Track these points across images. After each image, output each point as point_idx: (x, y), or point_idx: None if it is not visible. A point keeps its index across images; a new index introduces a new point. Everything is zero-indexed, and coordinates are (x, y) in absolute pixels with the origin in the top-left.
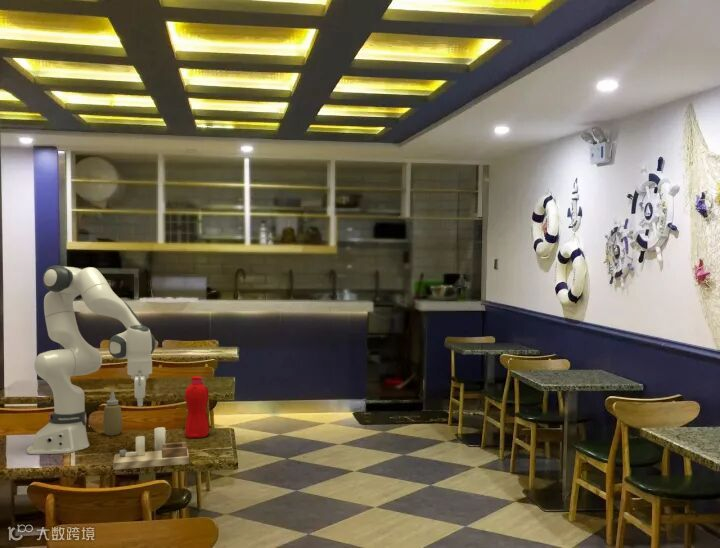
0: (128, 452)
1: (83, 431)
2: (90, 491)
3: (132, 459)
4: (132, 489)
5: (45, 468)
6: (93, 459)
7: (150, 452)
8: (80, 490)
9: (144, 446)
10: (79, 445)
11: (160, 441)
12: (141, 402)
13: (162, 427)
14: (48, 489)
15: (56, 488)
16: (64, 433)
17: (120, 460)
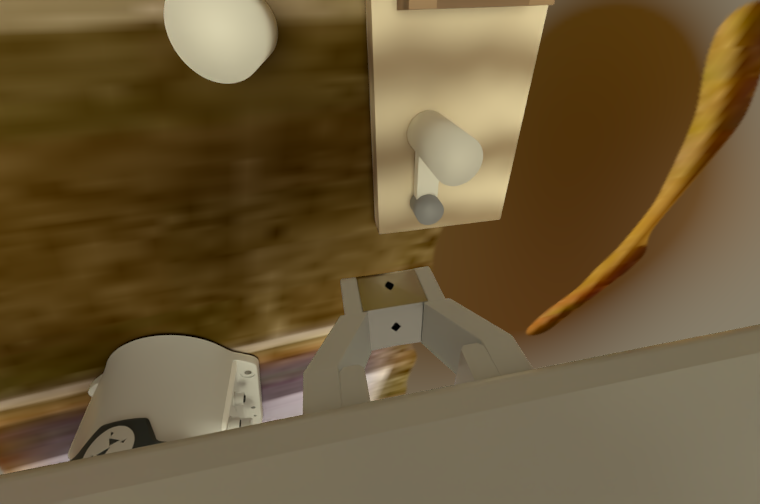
0: (424, 187)
1: (164, 395)
2: (653, 227)
3: (484, 157)
4: (730, 117)
5: (401, 357)
6: (339, 285)
7: (393, 82)
8: (628, 250)
9: (449, 121)
10: (211, 357)
11: (270, 23)
12: (441, 303)
13: (174, 4)
14: (573, 309)
15: (576, 297)
16: (227, 425)
17: (478, 200)
